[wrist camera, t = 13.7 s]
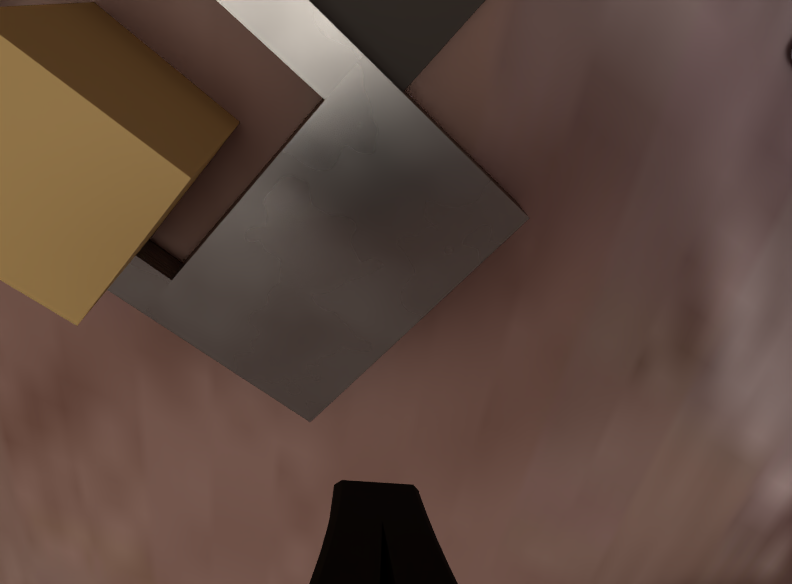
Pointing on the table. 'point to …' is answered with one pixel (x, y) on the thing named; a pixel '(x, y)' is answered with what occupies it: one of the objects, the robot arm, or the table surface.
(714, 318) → the table surface
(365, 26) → the pad
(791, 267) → the table surface
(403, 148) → the gray rectangular frame
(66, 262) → the block
